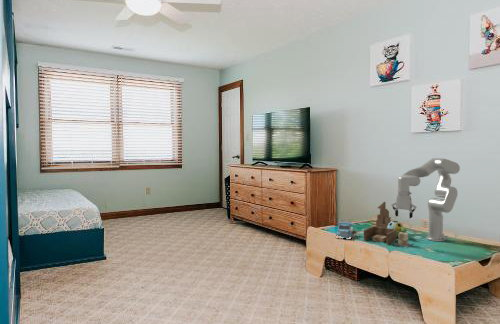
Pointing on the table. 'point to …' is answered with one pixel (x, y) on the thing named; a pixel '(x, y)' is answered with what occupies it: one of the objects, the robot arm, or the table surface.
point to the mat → (403, 245)
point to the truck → (345, 229)
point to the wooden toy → (383, 216)
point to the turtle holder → (397, 227)
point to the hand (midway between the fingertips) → (403, 217)
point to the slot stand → (380, 234)
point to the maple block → (403, 238)
